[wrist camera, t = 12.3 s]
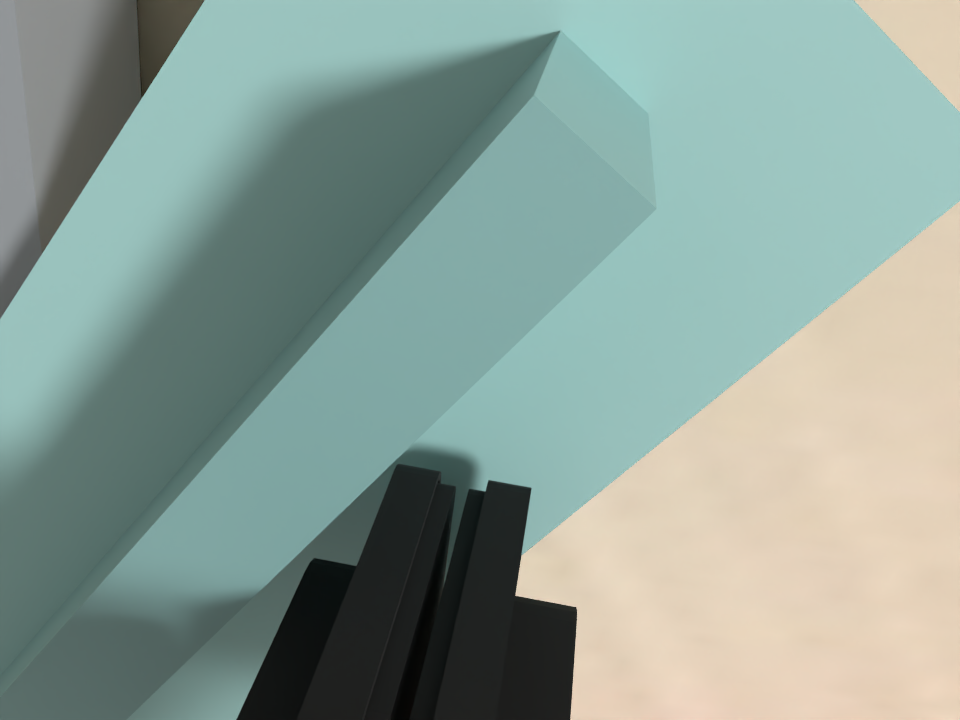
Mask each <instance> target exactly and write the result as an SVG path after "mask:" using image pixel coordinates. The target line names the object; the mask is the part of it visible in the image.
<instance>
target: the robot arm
mask: <svg viewBox="0 0 960 720" xmlns="http://www.w3.org/2000/svg"><path fill="white" fill-rule="evenodd" d="M531 489H532V488H530V487H525V486H519V485H514V484H508V483H503V482H497V481H492V480H488V483H487V487H486V491H480V490H475V489H469V490H468V494H467V498H466V501H465V505H464V509H463V513H462V517H461V521H460V525H459V529H458V533H457V536H456V540H455V544H454V548H453V552H452V556H451V560H450V564H449V568H448V572H447V575H446V579H445V571H446V563H447V556H448V548H449V540H450V533H451V525H452V517H453V510H454V502H455V494H456V486H452V485H447V484H441V471H436V470H431V469H425V468H420V467H414V466H409V465H403V464H397V465H396V467H395V469H394V472H393V474H392V477H391V479H390V482H389V484H388V487H387V490H386V492H385V495H384V497H383V500H382V502H381V505H380V508H379V510H378V513H377V515H376V518H375V520H374V523H373V525H372V528H371V531H370V533H369V536H368V538H367V541H366V543H365V546H364V548H363V551H362V554H361V556H360V559H359V561H358V564H357V566H354V565H349V564H344V563H338V562H333V561H328V560H322V559H317V558H314V559H313V560H312V561H311V562H310V563H309V565H308V567H307V568H306V570H305V572H304V574H303V576H302V579H301V581H300V583H299V585H298V587H297V589H296V592H295V594H294V596H293V598H292V600H291V602H290V605H289V607H288V609H287V611H286V613H285V615H284V618H283V620H282V622H281V624H280V626H279V628H278V631H277V633H276V635H275V637H274V639H273V641H272V644H271V646H270V648H269V650H268V652H267V654H266V657H265V659H264V661H263V663H262V665H261V667H260V669H259V672H258V674H257V676H256V678H255V680H254V682H253V685H252V687H251V689H250V691H249V693H248V695H247V698H246V700H245V702H244V704H243V706H242V708H241V711H240V713H239V715H238V717H237V719H236V720H570V714H571V699H572V684H573V669H574V653H575V638H576V623H577V609H576V607H571V606H566V605H561V604H555V603H550V602H545V601H540V600H534V599H529V598H524V597H518V596H515V593H516V586H517V580H518V573H519V567H520V560H521V554H522V547H523V541H524V534H525V528H526V522H527V515H528V509H529V502H530V496H531ZM444 579H445V583H444ZM443 586H444V587H443Z"/></svg>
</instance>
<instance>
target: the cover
mask: <svg viewBox="0 0 960 720" xmlns="http://www.w3.org/2000/svg"><path fill="white" fill-rule="evenodd" d="M959 201H960V112H959V111H958V110H957V109H956V108H955V107H954V106H953V105H952V104H951V103H950V102H949V101H948V100H947V99H946V97H945V96H944V95H943V94H942V93H941V92H940V91H939V90H938V89H937V88H936V87H935V86H934V85H933V84H932V83H931V82H930V81H929V79H928V78H927V77H926V76H925V75H924V74H923V73H922V72H921V71H920V70H919V69H918V68H917V67H916V66H915V65H914V64H913V63H912V61H911V60H910V59H909V58H908V57H907V56H906V55H905V54H904V53H903V52H902V51H901V50H900V49H899V48H898V47H897V46H896V44H895V43H894V42H893V41H892V40H891V39H890V38H889V37H888V36H887V35H886V34H885V33H884V32H883V31H882V30H881V29H880V28H879V26H878V25H877V24H876V23H875V22H874V21H873V20H872V19H871V18H870V17H869V16H868V15H867V14H866V13H865V12H864V11H863V10H862V8H861V7H860V6H859V5H858V4H857V3H856V2H855V1H854V0H205V1H204V2H203V4H202V5H201V7H200V9H199V10H198V12H197V13H196V15H195V16H194V18H193V19H192V21H191V23H190V24H189V26H188V27H187V29H186V30H185V32H184V33H183V35H182V37H181V38H180V40H179V41H178V43H177V44H176V46H175V47H174V49H173V51H172V52H171V54H170V55H169V57H168V58H167V60H166V62H165V63H164V65H163V66H162V68H161V69H160V71H159V72H158V74H157V76H156V77H155V79H154V80H153V82H152V83H151V85H150V86H149V88H148V90H147V91H146V93H145V94H144V96H143V97H142V99H141V100H140V102H139V104H138V105H137V107H136V108H135V110H134V111H133V113H132V115H131V116H130V118H129V119H128V121H127V122H126V124H125V125H124V127H123V129H122V130H121V132H120V133H119V135H118V136H117V138H116V139H115V141H114V143H113V144H112V146H111V147H110V149H109V150H108V152H107V153H106V155H105V157H104V158H103V160H102V161H101V163H100V164H99V166H98V168H97V169H96V171H95V172H94V174H93V175H92V177H91V178H90V180H89V182H88V183H87V185H86V186H85V188H84V189H83V191H82V192H81V194H80V196H79V197H78V199H77V200H76V202H75V203H74V205H73V206H72V208H71V210H70V211H69V213H68V214H67V216H66V217H65V219H64V221H63V222H62V224H61V225H60V227H59V228H58V230H57V231H56V233H55V235H54V236H53V238H52V239H51V241H50V242H49V244H48V245H47V247H46V249H45V250H44V252H43V253H42V255H41V256H40V258H39V259H38V261H37V263H36V264H35V266H34V267H33V269H32V270H31V272H30V274H29V275H28V277H27V278H26V280H25V281H24V283H23V284H22V286H21V288H20V289H19V291H18V292H17V294H16V295H15V297H14V298H13V300H12V302H11V303H10V305H9V306H8V308H7V309H6V311H5V313H4V314H3V316H2V317H1V319H0V720H236V719H237V717H238V715H239V713H240V711H241V708H242V706H243V704H244V702H245V700H246V698H247V695H248V693H249V691H250V689H251V687H252V685H253V682H254V680H255V678H256V676H257V674H258V672H259V669H260V667H261V665H262V663H263V661H264V659H265V657H266V654H267V652H268V650H269V648H270V646H271V644H272V641H273V639H274V637H275V635H276V633H277V631H278V628H279V626H280V624H281V622H282V620H283V618H284V615H285V613H286V611H287V609H288V607H289V605H290V602H291V600H292V598H293V596H294V594H295V592H296V589H297V587H298V585H299V583H300V581H301V579H302V576H303V574H304V572H305V570H306V568H307V567H308V565H309V563H310V562H311V561H312V560H313V559H314V558H317V559H322V560H328V561H333V562H338V563H344V564H349V565H354V566H357V564H358V561H359V559H360V556H361V554H362V551H363V548H364V546H365V543H366V541H367V538H368V536H369V533H370V531H371V528H372V525H373V523H374V520H375V518H376V515H377V513H378V510H379V508H380V505H381V502H382V500H383V497H384V495H385V492H386V490H387V487H388V484H389V482H390V479H391V477H392V474H393V472H394V469H395V467H396V465H397V464H403V465H409V466H414V467H420V468H425V469H431V470H436V471H441V484H447V485H452V486H456V494H455V502H454V510H453V517H452V525H451V533H450V540H449V548H448V556H447V563H446V571H445V579H446V575H447V572H448V568H449V564H450V560H451V556H452V552H453V548H454V544H455V540H456V536H457V533H458V529H459V525H460V521H461V517H462V513H463V509H464V505H465V501H466V498H467V494H468V490H469V489H475V490H480V491H486V487H487V483H488V480H492V481H497V482H503V483H508V484H514V485H519V486H525V487H530V488H532V489H531V496H530V502H529V509H528V515H527V522H526V528H525V534H524V541H523V547H522V554H524V553H525V552H526V551H527V550H529V549H530V548H531V547H532V546H534V545H535V544H536V543H537V542H539V541H540V540H541V539H542V538H544V537H545V536H546V535H547V534H548V533H550V532H551V531H552V530H553V529H555V528H556V527H557V526H558V525H560V524H561V523H562V522H563V521H565V520H566V519H567V518H568V517H569V516H571V515H572V514H573V513H574V512H576V511H577V510H578V509H579V508H581V507H582V506H583V505H584V504H586V503H587V502H588V501H589V500H590V499H592V498H593V497H594V496H595V495H597V494H598V493H599V492H600V491H602V490H603V489H604V488H605V487H607V486H608V485H609V484H610V483H612V482H613V481H614V480H615V479H616V478H618V477H619V476H620V475H621V474H623V473H624V472H625V471H626V470H628V469H629V468H630V467H631V466H633V465H634V464H635V463H636V462H637V461H639V460H640V459H641V458H642V457H644V456H645V455H646V454H647V453H649V452H650V451H651V450H652V449H654V448H655V447H656V446H657V445H658V444H660V443H661V442H662V441H663V440H665V439H666V438H667V437H668V436H670V435H671V434H672V433H673V432H675V431H676V430H677V429H678V428H680V427H681V426H682V425H683V424H684V423H686V422H687V421H688V420H689V419H691V418H692V417H693V416H694V415H696V414H697V413H698V412H699V411H701V410H702V409H703V408H704V407H705V406H707V405H708V404H709V403H710V402H712V401H713V400H714V399H715V398H717V397H718V396H719V395H720V394H722V393H723V392H724V391H725V390H726V389H728V388H729V387H730V386H731V385H733V384H734V383H735V382H736V381H738V380H739V379H740V378H741V377H743V376H744V375H745V374H746V373H748V372H749V371H750V370H751V369H752V368H754V367H755V366H756V365H757V364H759V363H760V362H761V361H762V360H764V359H765V358H766V357H767V356H769V355H770V354H771V353H772V352H773V351H775V350H776V349H777V348H778V347H780V346H781V345H782V344H783V343H785V342H786V341H787V340H788V339H790V338H791V337H792V336H793V335H794V334H796V333H797V332H798V331H799V330H801V329H802V328H803V327H804V326H806V325H807V324H808V323H809V322H811V321H812V320H813V319H814V318H816V317H817V316H818V315H819V314H820V313H822V312H823V311H824V310H825V309H827V308H828V307H829V306H830V305H832V304H833V303H834V302H835V301H837V300H838V299H839V298H840V297H841V296H843V295H844V294H845V293H846V292H848V291H849V290H850V289H851V288H853V287H854V286H855V285H856V284H858V283H859V282H860V281H861V280H862V279H864V278H865V277H866V276H867V275H869V274H870V273H871V272H872V271H874V270H875V269H876V268H877V267H879V266H880V265H881V264H882V263H884V262H885V261H886V260H887V259H888V258H890V257H891V256H892V255H893V254H895V253H896V252H897V251H898V250H900V249H901V248H902V247H903V246H905V245H906V244H907V243H908V242H909V241H911V240H912V239H913V238H914V237H916V236H917V235H918V234H919V233H921V232H922V231H923V230H924V229H926V228H927V227H928V226H929V225H930V224H932V223H933V222H934V221H935V220H937V219H938V218H939V217H940V216H942V215H943V214H944V213H945V212H947V211H948V210H949V209H950V208H952V207H953V206H954V205H955V204H956V203H958V202H959ZM522 554H521V555H522ZM445 579H444V583H445ZM443 587H444V586H443Z"/></svg>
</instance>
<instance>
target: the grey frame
mask: <svg viewBox="0 0 960 720" xmlns="http://www.w3.org/2000/svg"><path fill="white" fill-rule="evenodd" d="M140 100H141V83H140V61H139V40H138V19H137V0H0V319H1V317H2V316H3V314H4V313H5V311H6V309H7V308H8V306H9V305H10V303H11V302H12V300H13V298H14V297H15V295H16V294H17V292H18V291H19V289H20V288H21V286H22V284H23V283H24V281H25V280H26V278H27V277H28V275H29V274H30V272H31V270H32V269H33V267H34V266H35V264H36V263H37V261H38V259H39V258H40V256H41V255H42V253H43V252H44V250H45V249H46V247H47V245H48V244H49V242H50V241H51V239H52V238H53V236H54V235H55V233H56V231H57V230H58V228H59V227H60V225H61V224H62V222H63V221H64V219H65V217H66V216H67V214H68V213H69V211H70V210H71V208H72V206H73V205H74V203H75V202H76V200H77V199H78V197H79V196H80V194H81V192H82V191H83V189H84V188H85V186H86V185H87V183H88V182H89V180H90V178H91V177H92V175H93V174H94V172H95V171H96V169H97V168H98V166H99V164H100V163H101V161H102V160H103V158H104V157H105V155H106V153H107V152H108V150H109V149H110V147H111V146H112V144H113V143H114V141H115V139H116V138H117V136H118V135H119V133H120V132H121V130H122V129H123V127H124V125H125V124H126V122H127V121H128V119H129V118H130V116H131V115H132V113H133V111H134V110H135V108H136V107H137V105H138V104H139V102H140Z"/></svg>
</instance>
